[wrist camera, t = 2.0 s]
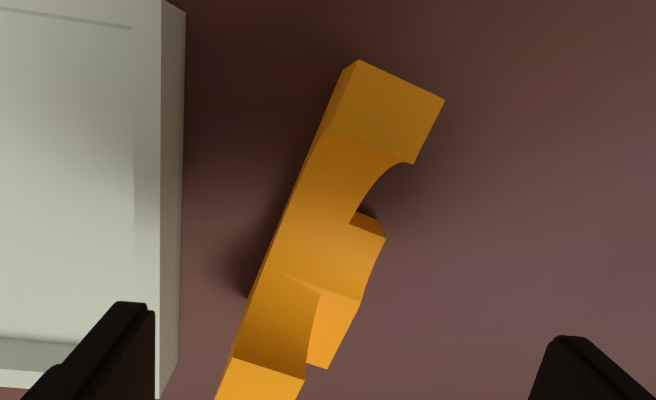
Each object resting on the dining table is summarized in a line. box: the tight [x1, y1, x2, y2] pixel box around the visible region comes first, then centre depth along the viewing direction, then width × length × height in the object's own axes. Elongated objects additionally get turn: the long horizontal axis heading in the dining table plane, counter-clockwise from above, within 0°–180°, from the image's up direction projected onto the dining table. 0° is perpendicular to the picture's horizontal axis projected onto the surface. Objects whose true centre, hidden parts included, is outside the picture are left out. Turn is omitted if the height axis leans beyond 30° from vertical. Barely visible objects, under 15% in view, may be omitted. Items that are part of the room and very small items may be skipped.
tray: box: [0, 0, 186, 399], centre depth 15 cm, size 14×17×2 cm
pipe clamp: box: [214, 59, 445, 400], centre depth 14 cm, size 12×4×6 cm, turn 157°
